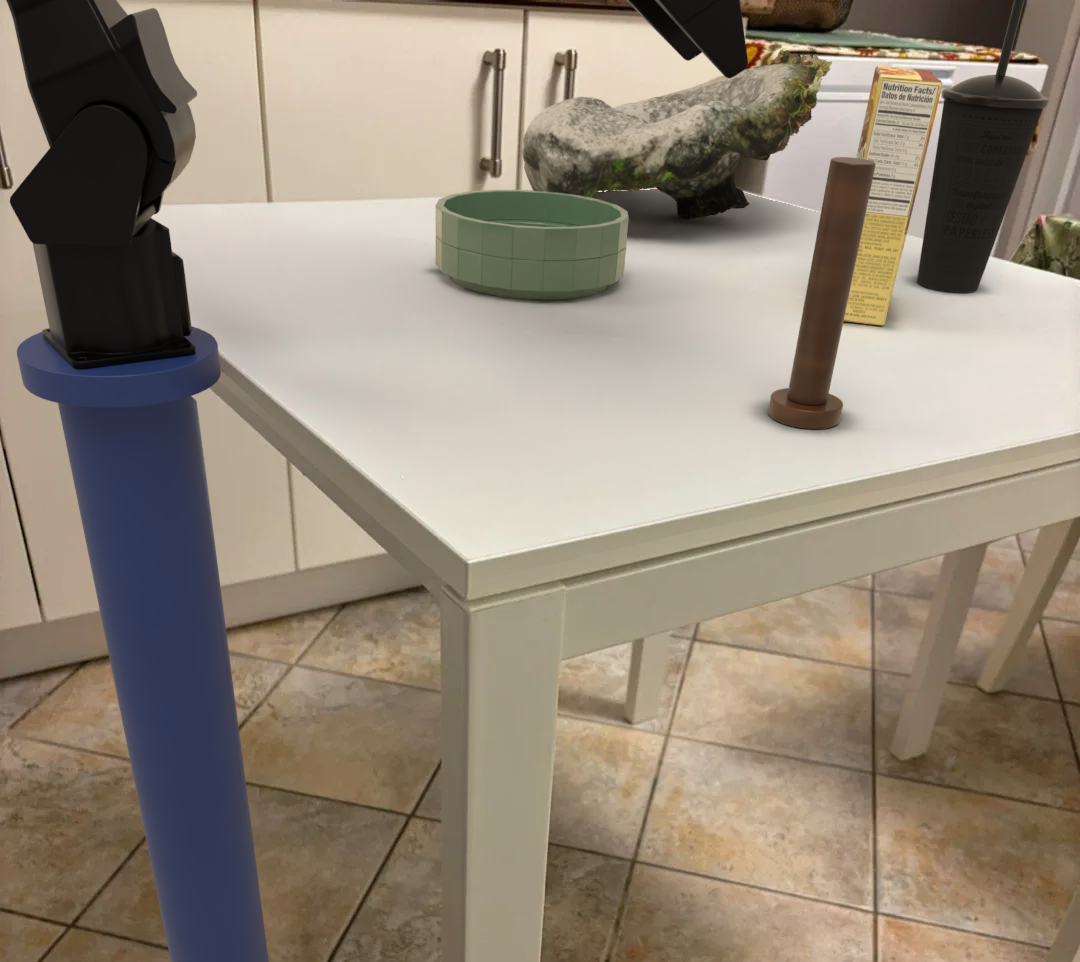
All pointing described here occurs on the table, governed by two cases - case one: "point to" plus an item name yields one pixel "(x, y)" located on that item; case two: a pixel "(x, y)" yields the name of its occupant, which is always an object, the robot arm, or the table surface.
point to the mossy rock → (675, 136)
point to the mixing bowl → (530, 243)
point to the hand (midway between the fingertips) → (715, 64)
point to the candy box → (890, 181)
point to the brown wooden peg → (826, 299)
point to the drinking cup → (976, 170)
